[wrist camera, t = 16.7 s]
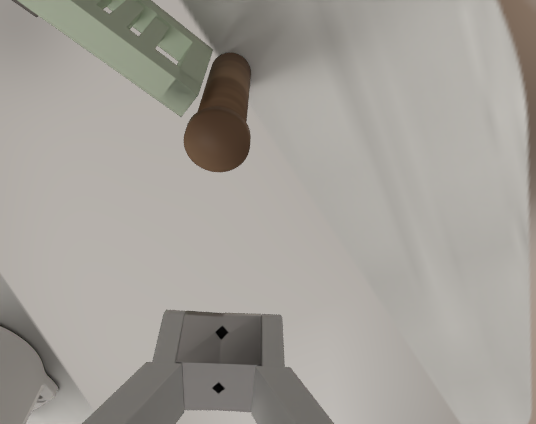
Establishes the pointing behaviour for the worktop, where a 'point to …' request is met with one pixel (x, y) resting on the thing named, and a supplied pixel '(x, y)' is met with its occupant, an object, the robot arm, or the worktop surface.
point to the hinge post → (221, 117)
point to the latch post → (25, 8)
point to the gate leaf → (134, 44)
